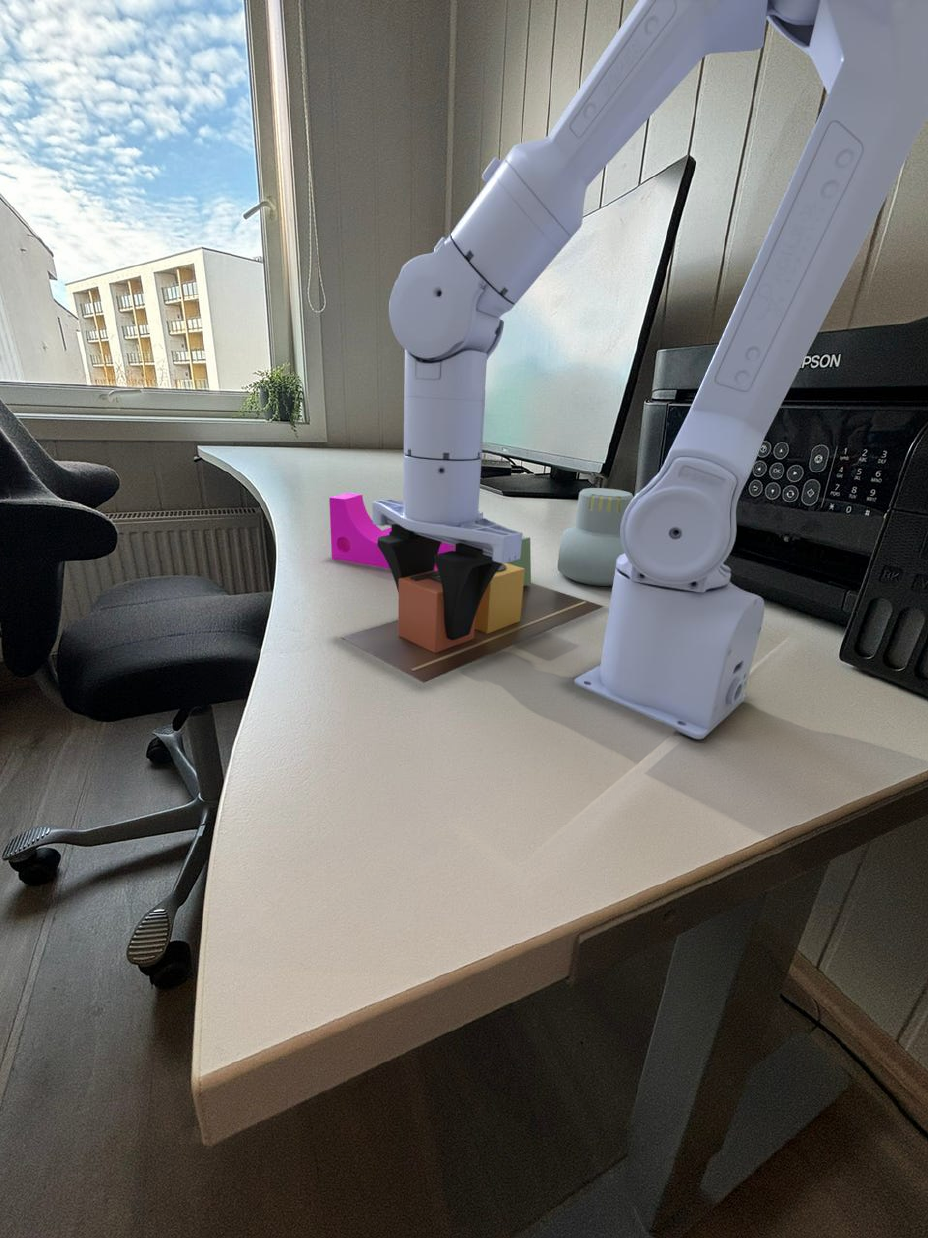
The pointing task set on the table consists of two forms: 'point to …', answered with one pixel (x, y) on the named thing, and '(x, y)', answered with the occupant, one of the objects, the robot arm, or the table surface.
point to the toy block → (358, 532)
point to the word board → (536, 617)
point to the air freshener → (594, 537)
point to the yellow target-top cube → (501, 600)
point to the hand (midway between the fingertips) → (436, 626)
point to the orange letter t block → (425, 612)
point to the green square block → (524, 560)
